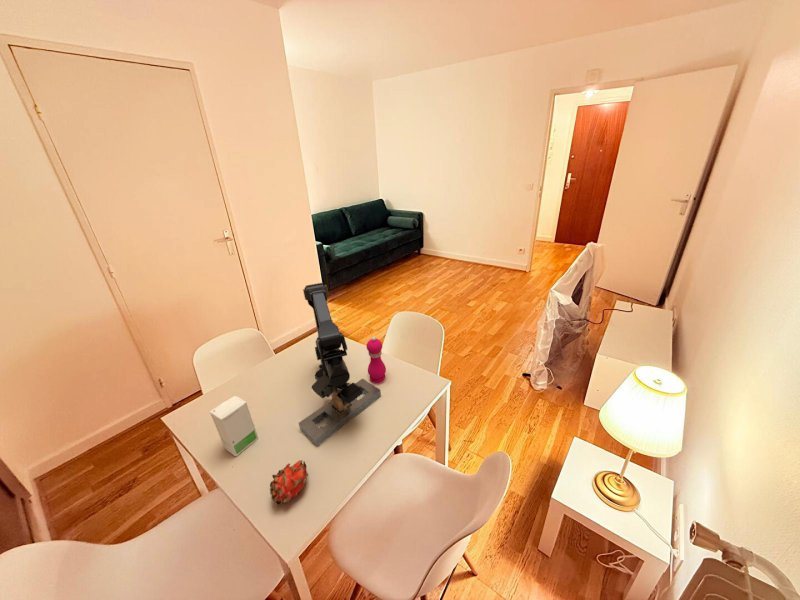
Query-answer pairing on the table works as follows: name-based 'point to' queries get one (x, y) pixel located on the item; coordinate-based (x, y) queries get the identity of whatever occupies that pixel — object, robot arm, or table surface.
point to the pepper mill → (376, 361)
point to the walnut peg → (338, 400)
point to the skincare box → (234, 425)
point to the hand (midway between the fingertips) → (341, 401)
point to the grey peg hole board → (337, 414)
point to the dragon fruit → (288, 482)
